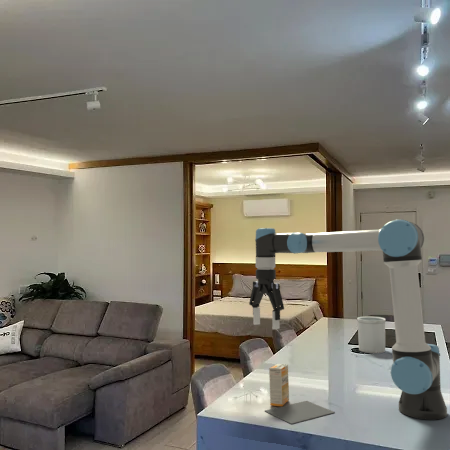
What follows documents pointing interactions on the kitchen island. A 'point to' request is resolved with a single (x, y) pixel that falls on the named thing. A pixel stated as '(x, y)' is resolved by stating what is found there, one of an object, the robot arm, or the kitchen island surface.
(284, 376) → the supplement box
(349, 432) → the kitchen island surface
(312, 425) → the kitchen island surface
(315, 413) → the mat
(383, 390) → the kitchen island surface
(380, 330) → the utensil holder
